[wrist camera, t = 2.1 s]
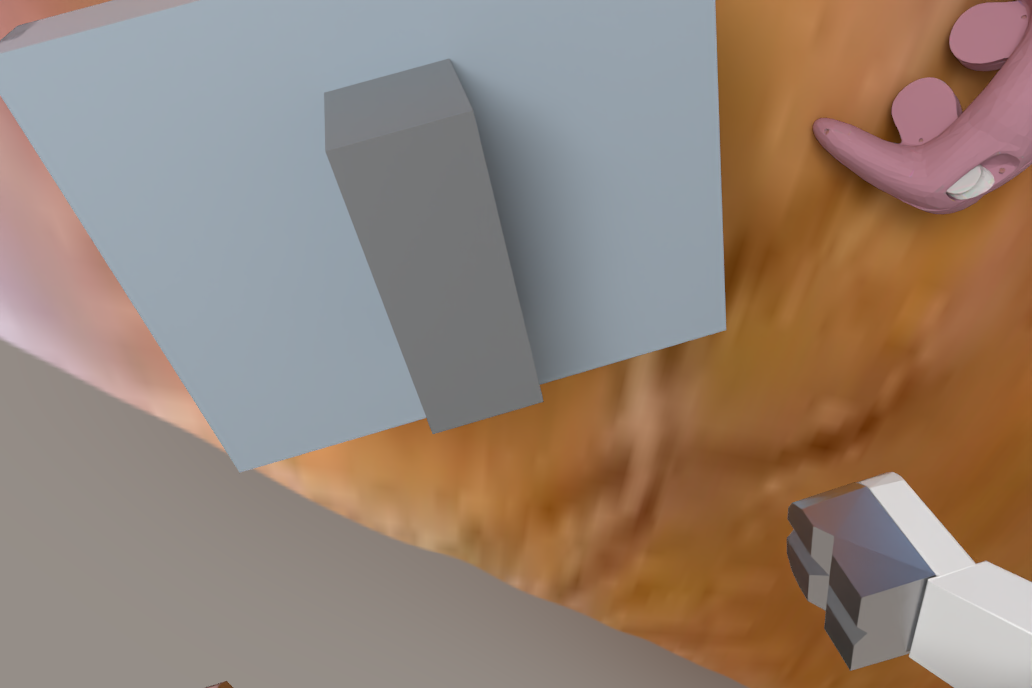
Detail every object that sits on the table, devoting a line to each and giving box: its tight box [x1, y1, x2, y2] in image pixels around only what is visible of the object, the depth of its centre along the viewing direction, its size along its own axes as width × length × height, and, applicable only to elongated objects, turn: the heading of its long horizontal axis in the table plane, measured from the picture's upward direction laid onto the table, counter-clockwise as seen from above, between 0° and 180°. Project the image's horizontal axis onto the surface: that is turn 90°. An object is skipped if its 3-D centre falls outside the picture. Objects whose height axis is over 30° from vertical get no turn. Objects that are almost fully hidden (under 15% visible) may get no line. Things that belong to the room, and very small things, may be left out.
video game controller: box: [813, 0, 1032, 214], centre depth 29 cm, size 10×5×7 cm, turn 150°
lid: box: [0, 0, 726, 472], centre depth 20 cm, size 16×13×6 cm
